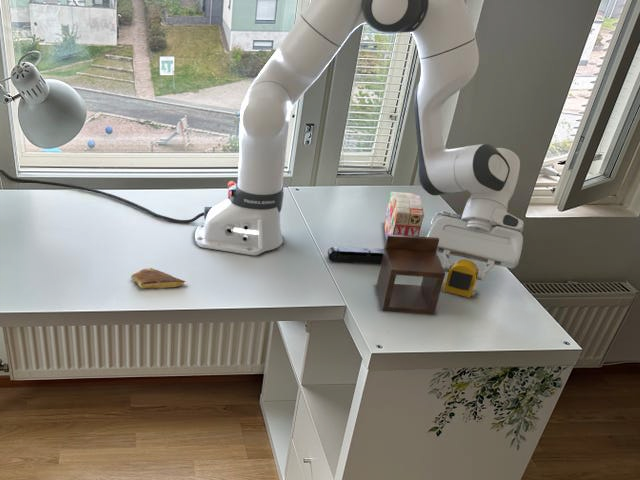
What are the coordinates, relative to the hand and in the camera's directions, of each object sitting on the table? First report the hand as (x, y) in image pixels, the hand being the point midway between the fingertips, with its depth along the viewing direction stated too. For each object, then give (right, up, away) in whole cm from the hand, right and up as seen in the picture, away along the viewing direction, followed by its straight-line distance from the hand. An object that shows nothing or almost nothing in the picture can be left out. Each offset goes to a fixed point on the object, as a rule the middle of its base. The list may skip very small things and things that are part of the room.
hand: (462, 275), depth 155 cm
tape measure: (0, -3, +3) cm, 4 cm away
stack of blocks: (-7, +12, +24) cm, 28 cm away
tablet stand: (-18, +5, +14) cm, 24 cm away
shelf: (-13, -6, -1) cm, 15 cm away
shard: (-69, -1, +4) cm, 69 cm away
